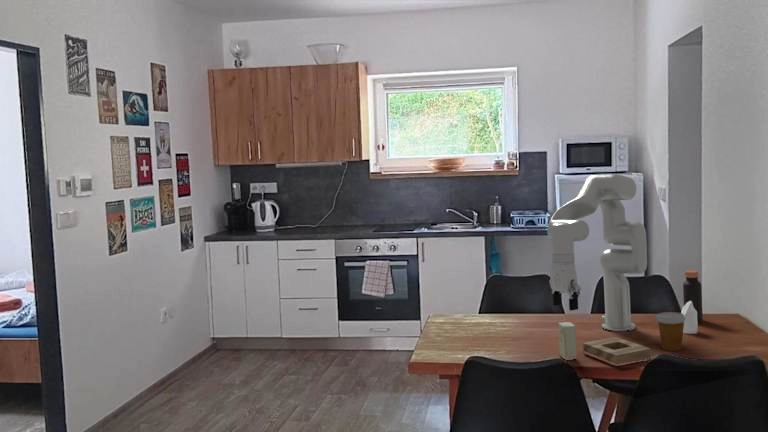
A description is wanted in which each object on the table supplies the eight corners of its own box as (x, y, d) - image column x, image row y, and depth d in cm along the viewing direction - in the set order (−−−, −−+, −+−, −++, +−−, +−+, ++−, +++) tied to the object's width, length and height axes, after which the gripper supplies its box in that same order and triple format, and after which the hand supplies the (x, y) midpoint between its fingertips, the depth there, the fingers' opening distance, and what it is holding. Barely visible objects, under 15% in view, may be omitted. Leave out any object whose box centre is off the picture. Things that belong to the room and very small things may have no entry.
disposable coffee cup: (683, 353, 247) (682, 318, 246) (654, 350, 252) (653, 317, 251) (688, 345, 255) (687, 312, 254) (660, 343, 260) (659, 311, 259)
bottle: (680, 320, 290) (678, 271, 288) (693, 317, 292) (691, 269, 291) (693, 323, 283) (691, 273, 282) (706, 320, 286) (704, 271, 284)
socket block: (583, 354, 254) (583, 343, 254) (616, 347, 259) (616, 336, 258) (616, 367, 237) (615, 355, 237) (650, 360, 242) (650, 348, 241)
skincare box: (559, 356, 254) (557, 322, 253) (571, 355, 254) (569, 321, 253) (565, 361, 247) (563, 326, 246) (577, 360, 248) (576, 325, 247)
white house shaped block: (676, 300, 273) (689, 298, 275) (678, 331, 274) (690, 329, 276) (688, 303, 268) (700, 301, 269) (689, 334, 269) (701, 332, 270)
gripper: (540, 257, 255) (542, 304, 256) (568, 262, 238) (570, 313, 240) (558, 254, 257) (560, 301, 258) (587, 260, 241) (589, 310, 242)
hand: (565, 307), depth 249 cm, fingers open, 9 cm apart
